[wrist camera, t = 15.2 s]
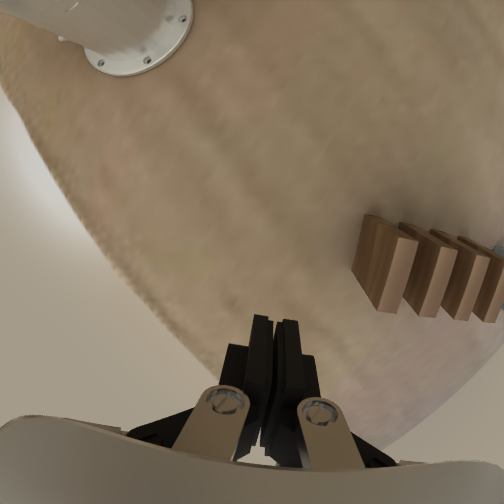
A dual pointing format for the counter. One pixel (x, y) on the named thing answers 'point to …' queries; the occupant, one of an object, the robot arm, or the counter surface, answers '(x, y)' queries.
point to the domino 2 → (428, 271)
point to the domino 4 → (489, 284)
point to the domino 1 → (383, 262)
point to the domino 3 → (463, 278)
